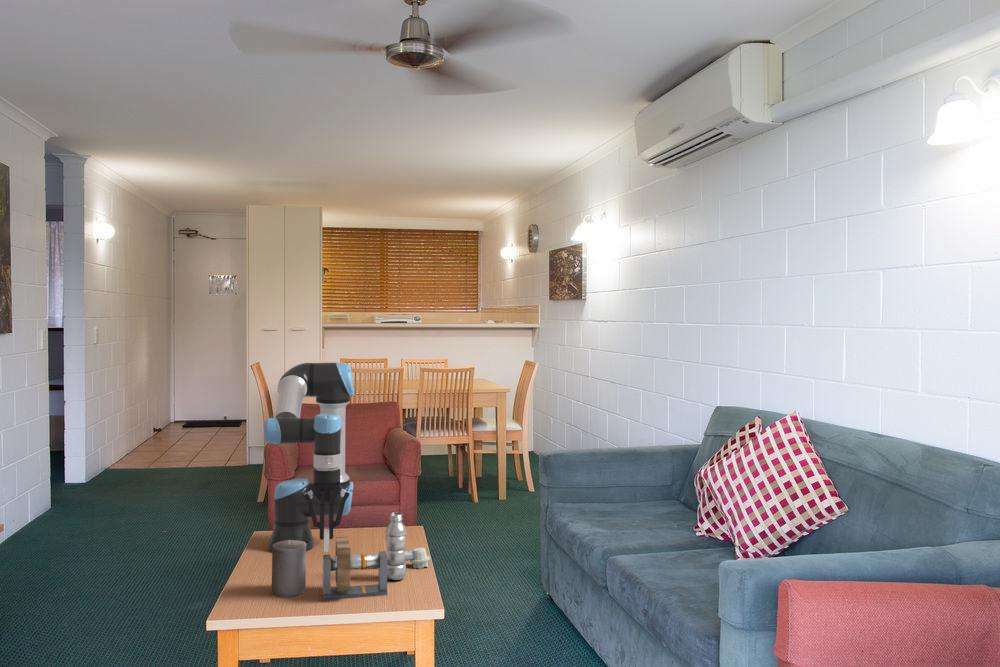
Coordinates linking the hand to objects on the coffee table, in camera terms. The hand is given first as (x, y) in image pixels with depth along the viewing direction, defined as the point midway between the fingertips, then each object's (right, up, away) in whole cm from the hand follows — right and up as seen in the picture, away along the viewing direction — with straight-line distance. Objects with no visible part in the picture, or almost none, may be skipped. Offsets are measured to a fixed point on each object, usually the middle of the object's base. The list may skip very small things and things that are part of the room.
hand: (326, 550), depth 223 cm
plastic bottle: (+18, -13, +15) cm, 27 cm away
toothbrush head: (+15, -13, +27) cm, 34 cm away
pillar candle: (-12, -13, +3) cm, 18 cm away
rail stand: (+8, -13, +2) cm, 15 cm away
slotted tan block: (+4, -10, +1) cm, 11 cm away
